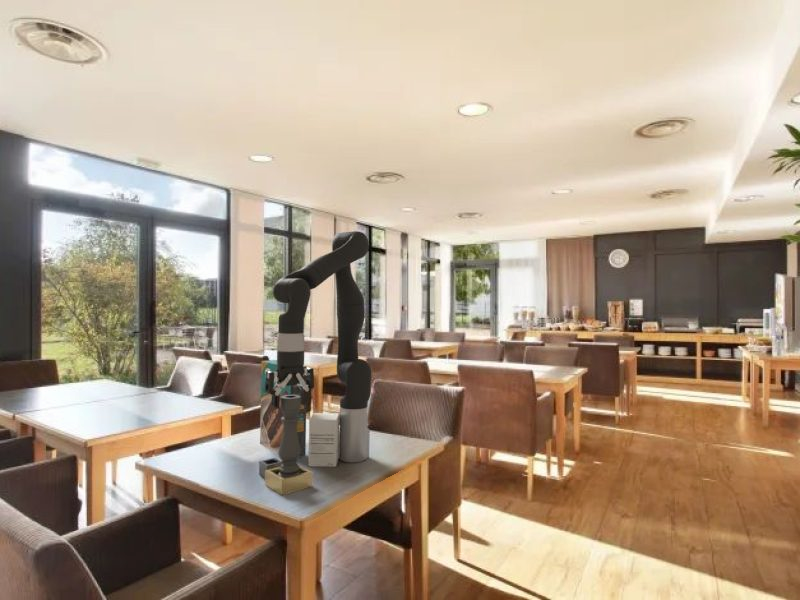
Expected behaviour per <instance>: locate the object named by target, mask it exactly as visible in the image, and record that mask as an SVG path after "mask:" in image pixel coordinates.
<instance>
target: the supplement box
mask: <svg viewBox="0 0 800 600" xmlns="http://www.w3.org/2000/svg"><path fill="white" fill-rule="evenodd" d="M339 435H340V412H339V413H336V412H335V413H334V412H333V413H332V412H331V413H330V412H329V413H328V412H327V413H326V412H325V413H324V412H314V413H313V414H312V415H311V417H310V418H309V420H308V467H331V468H332V467H337V464H338V462H339V460H340V459H339Z"/></svg>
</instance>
